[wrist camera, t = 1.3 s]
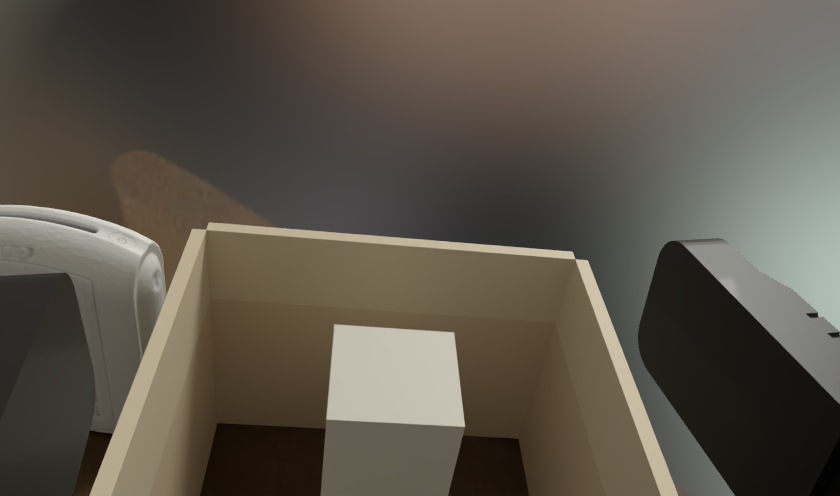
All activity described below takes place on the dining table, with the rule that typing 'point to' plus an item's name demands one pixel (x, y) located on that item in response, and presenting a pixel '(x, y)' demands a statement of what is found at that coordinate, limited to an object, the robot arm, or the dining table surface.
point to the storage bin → (386, 308)
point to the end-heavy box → (392, 413)
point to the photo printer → (94, 289)
